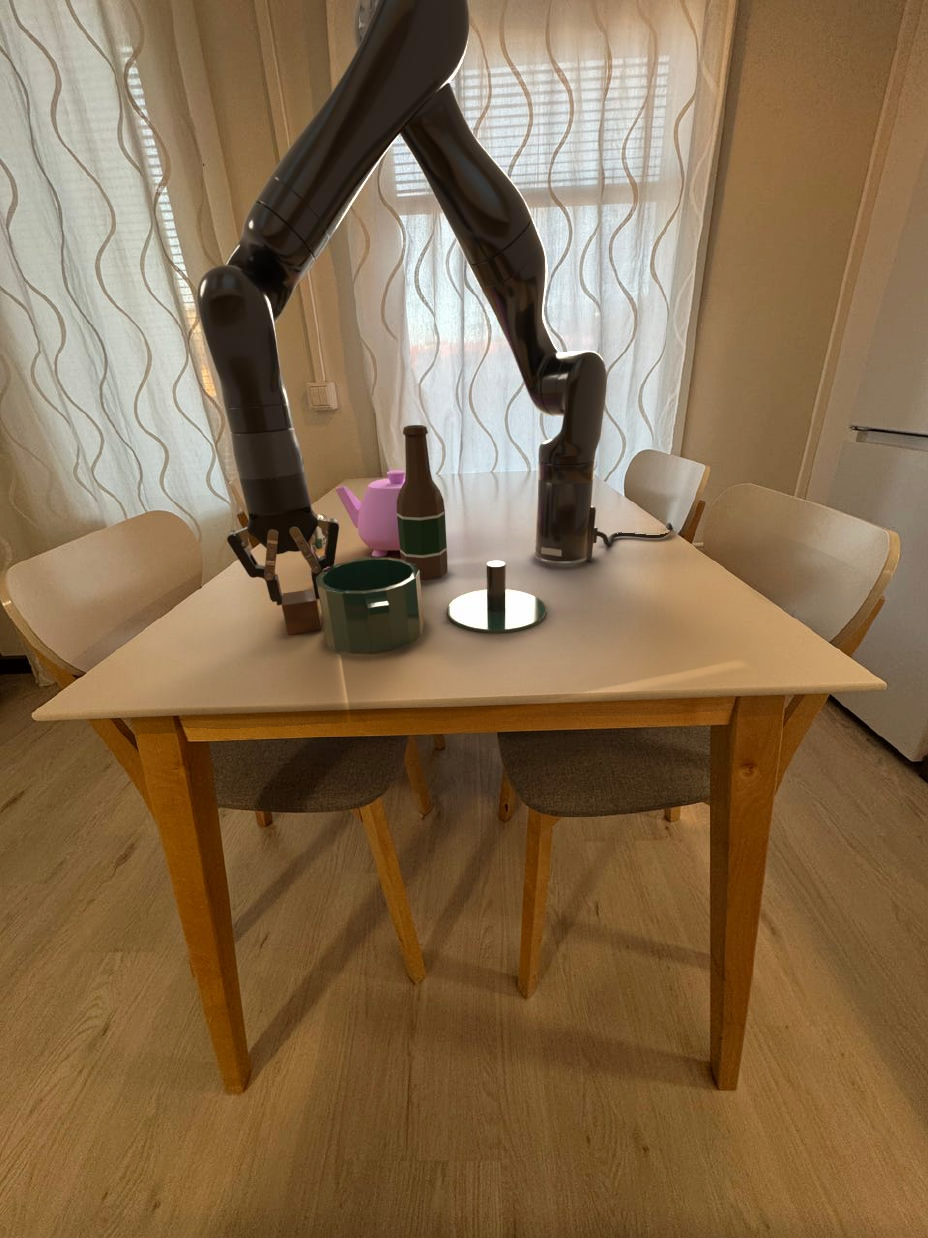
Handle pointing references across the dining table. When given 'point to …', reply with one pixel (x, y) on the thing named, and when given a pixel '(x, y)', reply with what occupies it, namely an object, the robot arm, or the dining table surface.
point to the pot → (371, 605)
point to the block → (301, 612)
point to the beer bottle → (421, 510)
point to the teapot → (376, 512)
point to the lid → (496, 606)
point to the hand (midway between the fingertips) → (299, 599)
